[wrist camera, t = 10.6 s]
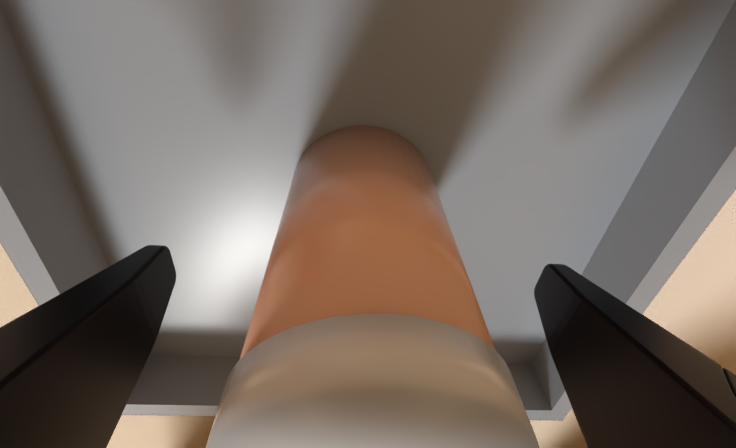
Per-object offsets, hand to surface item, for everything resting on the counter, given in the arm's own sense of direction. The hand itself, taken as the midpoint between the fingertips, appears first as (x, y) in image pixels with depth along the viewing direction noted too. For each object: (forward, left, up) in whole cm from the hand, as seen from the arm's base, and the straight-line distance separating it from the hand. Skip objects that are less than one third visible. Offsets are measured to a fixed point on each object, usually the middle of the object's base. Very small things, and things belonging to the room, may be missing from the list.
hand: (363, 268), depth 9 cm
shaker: (0, 0, -4) cm, 4 cm away
